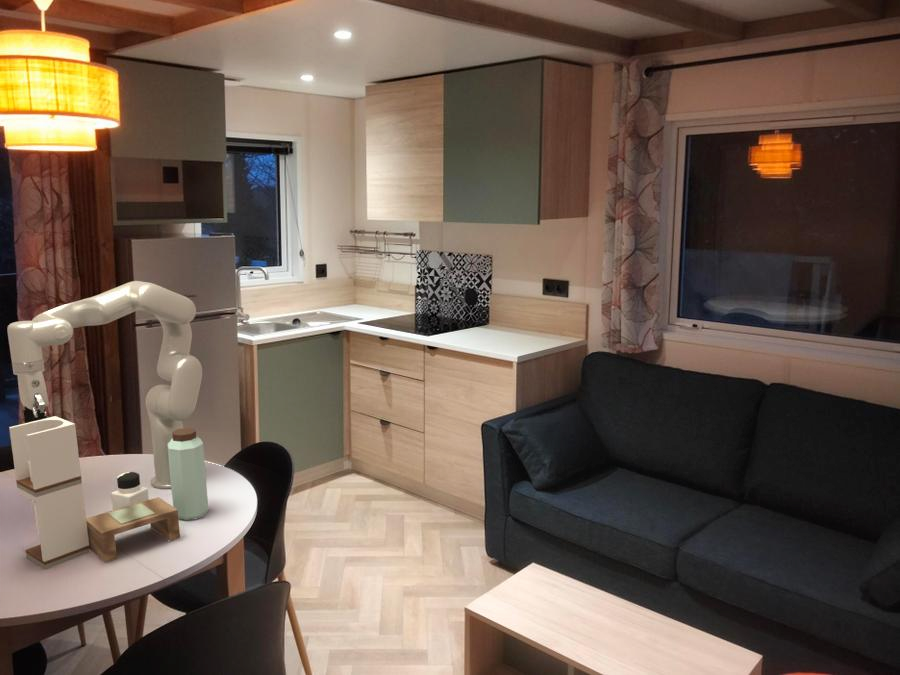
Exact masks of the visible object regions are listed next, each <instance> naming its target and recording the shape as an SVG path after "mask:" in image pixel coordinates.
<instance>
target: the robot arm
mask: <svg viewBox="0 0 900 675" xmlns="http://www.w3.org/2000/svg"><path fill="white" fill-rule="evenodd" d="M196 308H197V307H196V305H195V303H194V302H193V300H191V299H190V298H189V297H187V296H184V295H181V294H179V293H178V292H175V291H172V290H169V289H167V288H165V287H163V286H161V285H157V284H156V283H154V282H153V283H152V282H147V281H141V280H133V281H130V282H126V283H124V284H122V285H119V286H117V287H114V288H111V289H109V290H106V291H104V292H102V293H100V294H99V293H98V294H97V295H94V296H91V297H87V298H83V299H81V300H76V301H72V302H69V303H65V304H61V305H59V306H56V307H54V308H52V309H49V310H46V311H44V312H41V313H40V314H38V315H36V316H35V317H33V318H32V320H22V321H21V320H20V321H15V322H14V321H13V322H12V323H9V325H7V338H8V345H9V352H10V359H11V366H12V371H13V372H12V373H13V375H15V376H17V385H18V393H19V399H20V402H21V404H22V409H23V410H22V412H23V418H24V424H25V423H29V422H33V421H37V420H42V419H46V418H48V417H47V416H48V414H47V412H46V411H47V410H46V408H48V407H49V406H50V405H49V404H50V402H49V398H48V397H49V396H48V391H47V387H46V382H45V378H44V374H43V372H44V371H45V364H44V358H43V357H44V356H43V349H42V348H43V347H44V346H45V347H46V346H59V345H64V344H66V343H68V342H69V341H70V340H71V338H72V337H73V334H74V329H75V328H81V327H87V326H89V327H91V326H101V325H106V324H109V323H111V322H113V321H116V320H118V319H121V318H123V317H125V316H127V315H130V314H132V313H134V312H137V311H143V312H147V313H150V314H152V315H153V316H154V317H155V318H156V319H157V320H158V322H159V323H160V325H161V327H162V333H163V335H162V342H161V346H160V347H161V348H160V351H159V356H158V359H157V360H158V361H157V366H156V373H157V375H158V377H160V379H163V380H164V381H167V382H170V384H171V385H169V384H158V385H154V386H152V387H151V388H150V389H149V390H148V392H147V394H146V397H145V408H146V412H147V415H148V419H149V424H150V432H151V444H152V453H153V461H154V462H153V464H154V473H155V474H154V476H153V477H152V478H151V479H150V485H151V486H152V487H153V488H156V489H164V490H165V489H171V478H170V467H169V456H168V445H167V444H168V443H169V442H170V441H171V439H172V432H173V431H175V430H177V429H182V428H184V426H183V421H186V420H188V419H189V418H190V417H191V416H192V415H193V414H194V411H195V409H196V407H197V401H198V397H199V393H200V388H201V384H202V378H203V367H202V364H201V361H199V359H198V358H197V357H196V356H193V355H192V354H190V352H191V346H192V345H191V344H192V338H193V333H192V332H193V331H192V326H191V322H192V321H193V320H194V319H195V317H196V314H197V309H196ZM42 346H43V347H42Z"/></svg>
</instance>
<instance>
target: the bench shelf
mask: <svg viewBox="0 0 900 675" xmlns="http://www.w3.org/2000/svg"><path fill="white" fill-rule="evenodd" d="M179 521H180V519H178V510H177V509H176V508H174V507H173V505H171V504H170V503H169V502H166V500H163V499H162V498H161V497H159V496H158V497H153V498H151V499H149V500H147V501H143V502H140V503H137V504H133V505H130V506H126V507H123V508H120V509H116V510H113V509H112V510H110V511H107V512H103V513H100V514H96V515H93V516H90V517H86V523H87V531H88V540H89V549H90V552H93V553H94V555H95V556H97V557H98V558H99V559H100V560H101V561H102V562H104V563H107V562H110V561H113V560H117V558H118V557H117V548H116V547H117V546H116V540H115V539H116V538H115V535H119V534H123V533H125V532H127V531H131V530H135V529H138V528H140V527H144V526H147V525H150V528H151V529H152V530H154V531H155V532H156V533H158V534H160V535H161V536H162V538H165V539H166V540H167V541H169V542H171V541H173V540H177V539H179V538H181V533H180V532H181V531H180V522H179Z"/></svg>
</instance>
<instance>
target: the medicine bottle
mask: <svg viewBox="0 0 900 675" xmlns="http://www.w3.org/2000/svg"><path fill="white" fill-rule="evenodd" d="M116 482H117V490H115V491H113V492H111V494H110V495H111V503H112V511H113V510H116V509H120V508H123V507H126V506H130V505H133V504H137V503H140V502H143V501H147V500H150V499H149V490H148V488H147V487H145V486H141V479H140V474H139V473H138V472H135V471H127V472H123V473H121V474H119V475H118V476H117V477H116Z"/></svg>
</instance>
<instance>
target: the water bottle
mask: <svg viewBox="0 0 900 675" xmlns="http://www.w3.org/2000/svg"><path fill="white" fill-rule="evenodd" d="M167 445H168V456H169V467H170V478H171V488H170V489H171V497H172V506H173V507H174V508H176V509H177V510H178V519H179V520H182V519H184V521H191V520H190V519H192V520H196V519H195V518H198V519H200V518H201V516H202V515H203V516H205V515H206V514H207V513H208V511H209V499H208V488H207V476H206V461H205V452H204V451H205V450H204V443H203V440H202V439H201V438H200V437H198V436H197V430H196V429H195V428H193V427H183V428H182V429H177V430H175V431H173V432H172V439H171V441H170V442H169V443H168V444H167ZM205 513H206V514H205ZM204 514H205V515H204ZM203 516H202V517H203ZM199 517H200V518H199Z"/></svg>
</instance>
